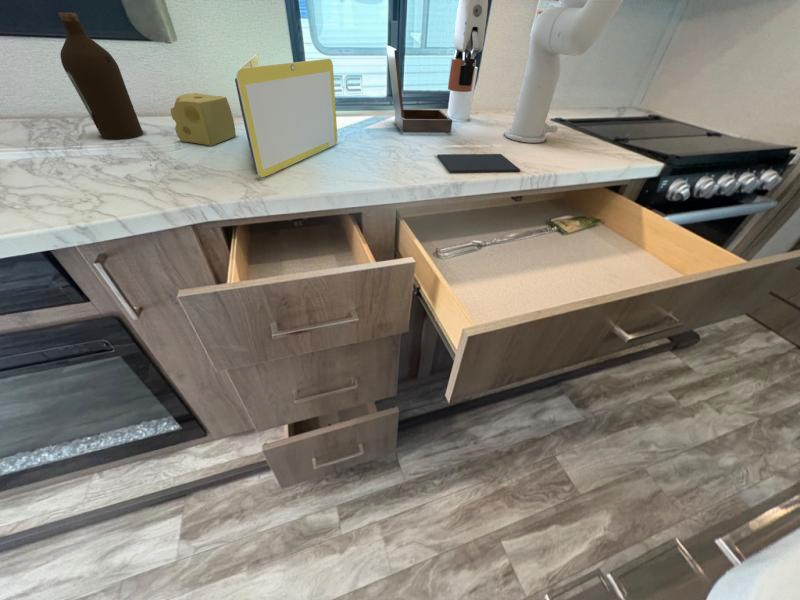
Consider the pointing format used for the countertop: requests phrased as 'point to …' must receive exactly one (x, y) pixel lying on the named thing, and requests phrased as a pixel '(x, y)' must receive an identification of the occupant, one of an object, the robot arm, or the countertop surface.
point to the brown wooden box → (423, 121)
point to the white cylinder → (461, 102)
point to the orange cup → (455, 74)
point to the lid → (395, 80)
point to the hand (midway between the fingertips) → (460, 82)
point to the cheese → (203, 119)
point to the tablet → (287, 111)
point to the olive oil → (98, 82)
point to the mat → (477, 163)
